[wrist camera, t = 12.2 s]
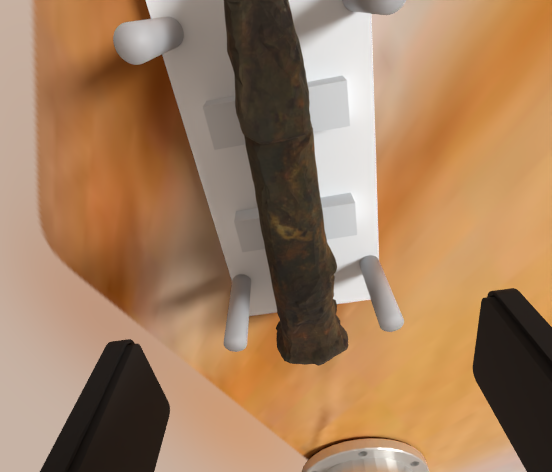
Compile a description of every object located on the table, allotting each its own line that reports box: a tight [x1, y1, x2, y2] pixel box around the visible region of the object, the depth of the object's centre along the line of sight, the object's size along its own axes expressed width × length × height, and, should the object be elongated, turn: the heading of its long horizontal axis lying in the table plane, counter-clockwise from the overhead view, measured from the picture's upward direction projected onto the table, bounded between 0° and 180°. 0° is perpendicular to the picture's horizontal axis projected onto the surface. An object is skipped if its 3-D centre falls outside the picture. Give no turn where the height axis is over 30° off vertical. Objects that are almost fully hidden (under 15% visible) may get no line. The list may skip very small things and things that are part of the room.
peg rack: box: [113, 0, 406, 352], centre depth 17 cm, size 20×9×6 cm, turn 10°
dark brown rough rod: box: [224, 0, 348, 365], centre depth 16 cm, size 19×4×5 cm, turn 7°
